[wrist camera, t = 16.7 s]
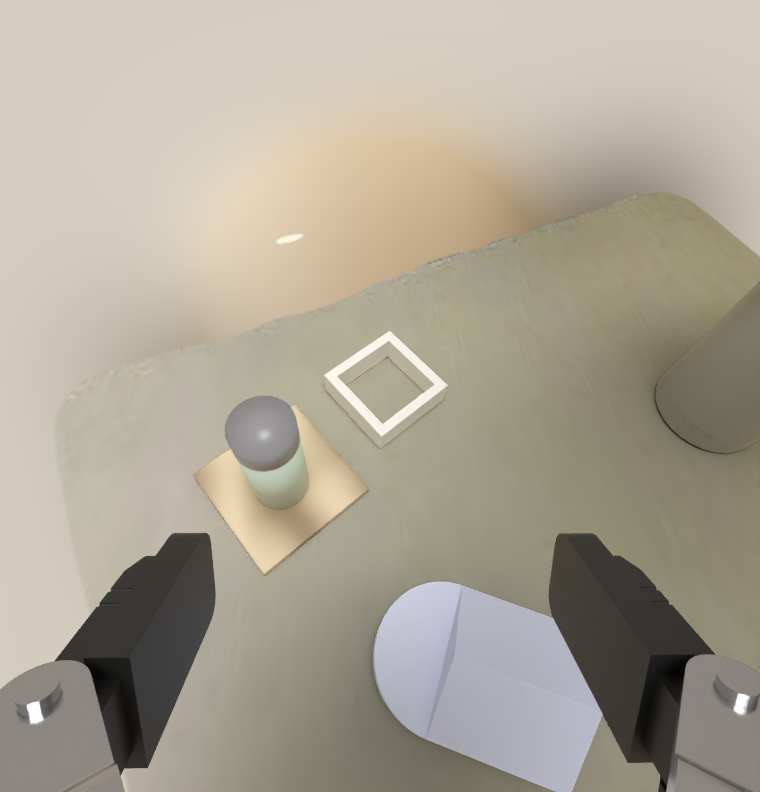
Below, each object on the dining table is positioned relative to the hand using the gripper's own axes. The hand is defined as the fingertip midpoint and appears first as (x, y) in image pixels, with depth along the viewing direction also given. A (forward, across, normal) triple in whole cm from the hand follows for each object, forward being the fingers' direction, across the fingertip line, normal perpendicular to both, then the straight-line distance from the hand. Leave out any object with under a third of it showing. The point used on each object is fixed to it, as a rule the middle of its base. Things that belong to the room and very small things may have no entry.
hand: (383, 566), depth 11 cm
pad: (+26, +7, +11) cm, 29 cm away
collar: (+32, -1, +5) cm, 33 cm away
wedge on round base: (+17, -6, +20) cm, 27 cm away
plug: (+26, +7, +10) cm, 28 cm away
